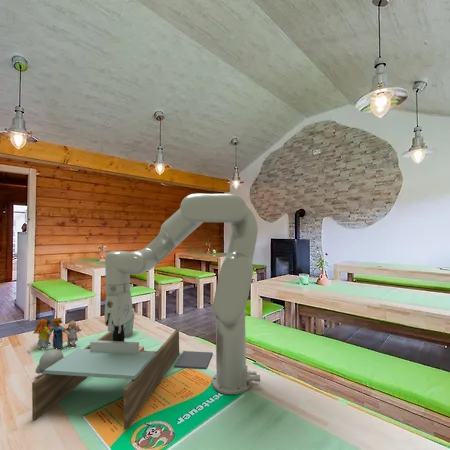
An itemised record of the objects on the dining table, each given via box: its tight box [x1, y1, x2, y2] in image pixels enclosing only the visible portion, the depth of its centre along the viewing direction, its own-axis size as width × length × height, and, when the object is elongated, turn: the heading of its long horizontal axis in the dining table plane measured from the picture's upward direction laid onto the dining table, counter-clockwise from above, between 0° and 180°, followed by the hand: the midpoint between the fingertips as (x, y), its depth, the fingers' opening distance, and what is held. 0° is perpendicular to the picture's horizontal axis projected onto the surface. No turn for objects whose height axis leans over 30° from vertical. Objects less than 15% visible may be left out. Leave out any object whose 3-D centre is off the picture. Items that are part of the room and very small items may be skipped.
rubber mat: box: [173, 350, 213, 370], centre depth 105 cm, size 12×12×1 cm
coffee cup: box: [124, 307, 136, 338], centre depth 131 cm, size 8×8×12 cm
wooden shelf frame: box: [31, 328, 180, 429], centre depth 92 cm, size 27×42×10 cm, turn 172°
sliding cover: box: [44, 339, 156, 380], centre depth 82 cm, size 27×14×4 cm, turn 82°
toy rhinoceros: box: [35, 348, 65, 377], centre depth 95 cm, size 7×12×8 cm, turn 72°
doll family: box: [32, 317, 82, 350], centre depth 118 cm, size 21×10×13 cm, turn 80°
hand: (118, 343), depth 91 cm, fingers closed
